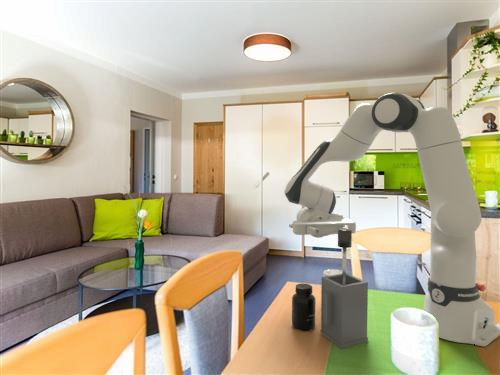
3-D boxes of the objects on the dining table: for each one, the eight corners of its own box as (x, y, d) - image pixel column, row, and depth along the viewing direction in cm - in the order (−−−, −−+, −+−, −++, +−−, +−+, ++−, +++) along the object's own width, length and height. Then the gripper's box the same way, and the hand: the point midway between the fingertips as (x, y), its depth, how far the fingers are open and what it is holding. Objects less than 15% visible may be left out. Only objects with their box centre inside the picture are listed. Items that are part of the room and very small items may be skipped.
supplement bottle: (315, 332, 92) (315, 291, 92) (290, 330, 94) (291, 289, 93) (315, 321, 99) (315, 282, 99) (292, 319, 101) (292, 281, 100)
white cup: (328, 294, 121) (328, 267, 120) (349, 299, 116) (350, 271, 115) (319, 301, 114) (319, 273, 114) (341, 307, 110) (342, 277, 109)
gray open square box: (345, 326, 96) (346, 272, 95) (368, 341, 88) (369, 282, 87) (314, 334, 92) (315, 277, 91) (335, 350, 83) (336, 288, 83)
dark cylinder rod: (345, 286, 93) (346, 227, 93) (360, 293, 88) (361, 231, 87) (328, 289, 91) (328, 229, 90) (342, 297, 86) (343, 233, 85)
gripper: (287, 215, 111) (297, 221, 98) (345, 214, 114) (363, 220, 100) (287, 234, 112) (297, 242, 98) (345, 232, 114) (363, 240, 100)
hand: (331, 231), depth 99 cm, fingers open, 8 cm apart
